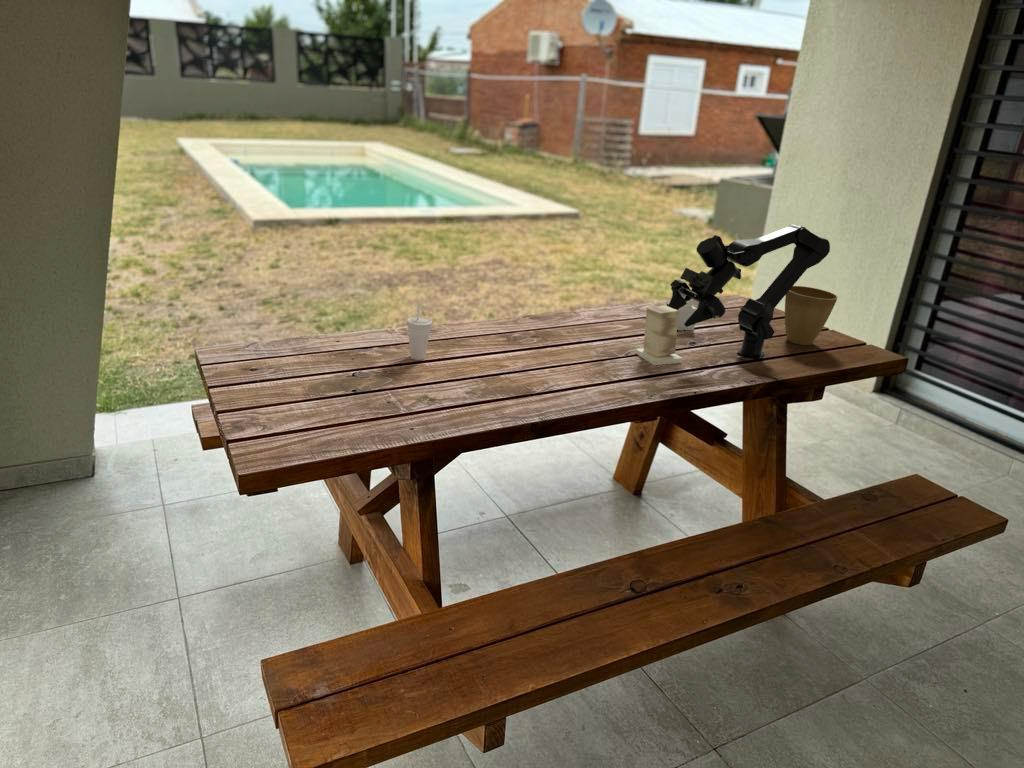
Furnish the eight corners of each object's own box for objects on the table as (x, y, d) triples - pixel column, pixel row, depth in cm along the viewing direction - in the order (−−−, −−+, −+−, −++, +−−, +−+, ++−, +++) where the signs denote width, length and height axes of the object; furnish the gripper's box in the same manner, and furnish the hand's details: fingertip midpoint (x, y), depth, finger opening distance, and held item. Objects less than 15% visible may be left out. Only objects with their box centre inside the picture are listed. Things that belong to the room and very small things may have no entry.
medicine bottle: (662, 323, 235) (669, 286, 230) (682, 323, 237) (689, 287, 233) (673, 331, 229) (680, 293, 224) (694, 330, 231) (701, 293, 226)
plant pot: (829, 352, 223) (843, 301, 217) (779, 345, 225) (791, 294, 219) (818, 337, 237) (831, 289, 231) (771, 331, 239) (782, 282, 232)
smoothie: (415, 350, 191) (418, 298, 186) (435, 357, 189) (438, 304, 183) (399, 357, 186) (401, 303, 181) (420, 363, 183) (422, 309, 178)
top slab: (662, 351, 207) (663, 346, 207) (681, 363, 200) (682, 358, 199) (635, 354, 204) (636, 348, 203) (653, 365, 196) (654, 360, 196)
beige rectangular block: (661, 347, 205) (664, 305, 201) (674, 353, 200) (678, 310, 196) (643, 350, 202) (646, 307, 198) (656, 356, 197) (660, 313, 193)
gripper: (681, 250, 202) (641, 290, 202) (724, 267, 187) (681, 311, 187) (700, 277, 208) (661, 316, 208) (743, 296, 193) (701, 339, 193)
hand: (675, 320), depth 199 cm, fingers open, 9 cm apart
